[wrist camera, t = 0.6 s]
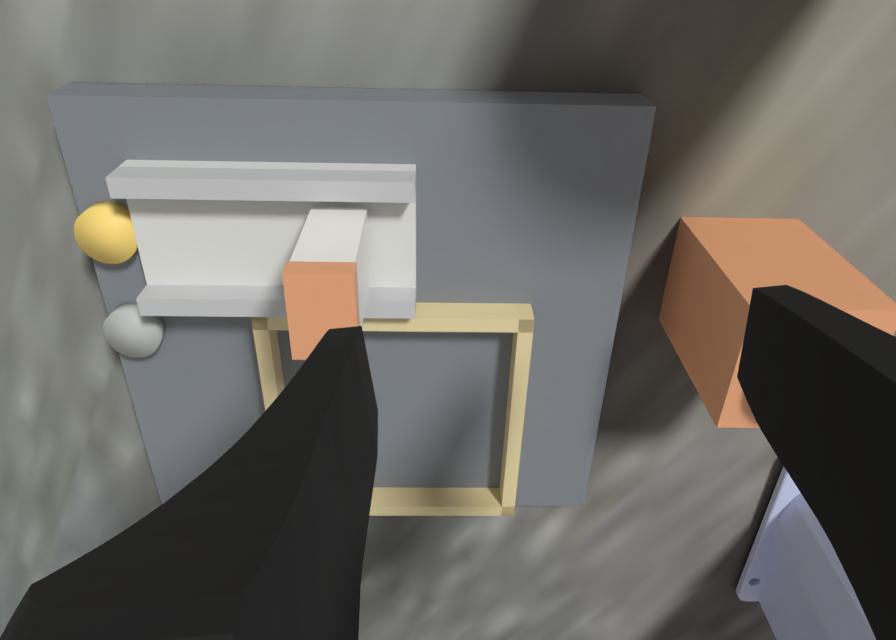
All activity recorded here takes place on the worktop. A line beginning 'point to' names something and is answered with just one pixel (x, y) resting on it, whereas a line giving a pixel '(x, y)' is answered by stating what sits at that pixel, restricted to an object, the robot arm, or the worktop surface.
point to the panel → (391, 268)
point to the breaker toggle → (327, 276)
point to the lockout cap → (749, 296)
